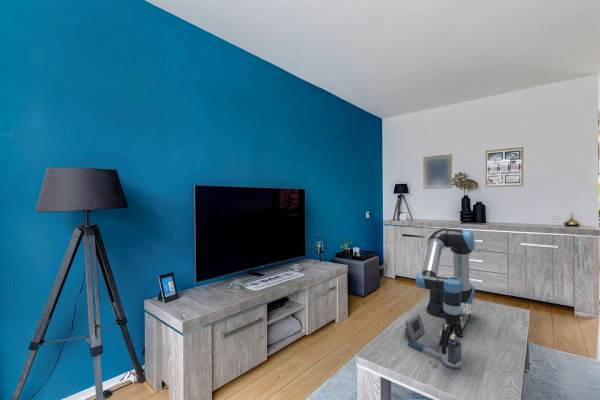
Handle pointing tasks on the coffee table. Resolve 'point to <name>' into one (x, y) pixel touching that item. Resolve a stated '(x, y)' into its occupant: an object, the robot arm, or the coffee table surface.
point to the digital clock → (414, 327)
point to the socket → (454, 351)
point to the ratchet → (432, 354)
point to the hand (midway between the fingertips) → (451, 354)
